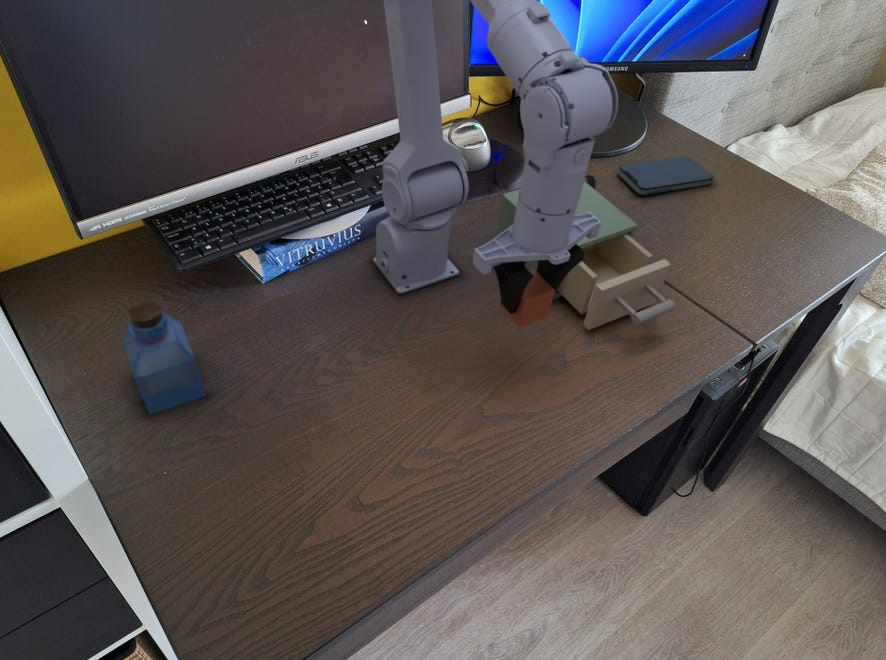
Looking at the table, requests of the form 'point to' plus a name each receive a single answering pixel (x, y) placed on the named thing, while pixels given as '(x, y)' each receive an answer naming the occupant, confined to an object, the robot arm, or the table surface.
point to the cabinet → (588, 202)
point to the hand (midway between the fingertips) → (525, 301)
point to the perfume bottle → (161, 358)
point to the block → (533, 301)
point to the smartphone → (664, 175)
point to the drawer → (616, 283)
